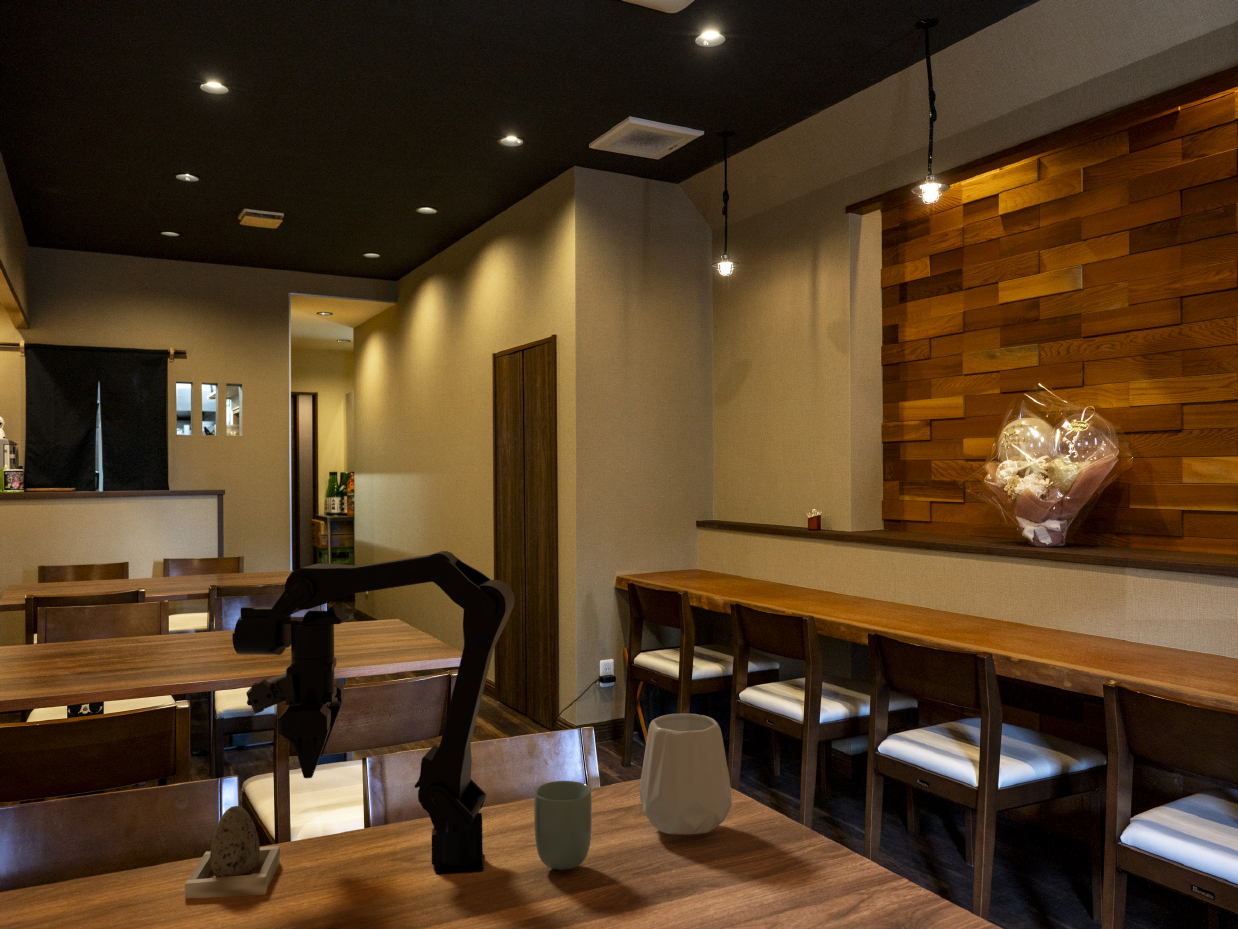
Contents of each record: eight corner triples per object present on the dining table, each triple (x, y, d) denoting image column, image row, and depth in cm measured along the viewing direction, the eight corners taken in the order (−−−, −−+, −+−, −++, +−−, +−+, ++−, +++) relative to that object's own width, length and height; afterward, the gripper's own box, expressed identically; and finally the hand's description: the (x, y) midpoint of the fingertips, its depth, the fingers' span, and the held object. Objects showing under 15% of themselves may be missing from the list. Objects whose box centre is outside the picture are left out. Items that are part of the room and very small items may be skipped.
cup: (584, 879, 118) (583, 803, 118) (527, 874, 120) (527, 799, 120) (597, 853, 126) (597, 782, 126) (544, 849, 127) (543, 778, 127)
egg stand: (279, 864, 123) (279, 845, 123) (265, 896, 114) (265, 877, 114) (206, 870, 121) (206, 851, 121) (185, 903, 112) (185, 883, 112)
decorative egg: (268, 881, 118) (268, 805, 118) (225, 898, 113) (224, 819, 113) (244, 868, 122) (244, 795, 122) (201, 885, 117) (201, 808, 117)
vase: (671, 797, 147) (670, 704, 147) (748, 816, 139) (747, 718, 139) (620, 825, 136) (620, 725, 136) (701, 848, 127) (701, 741, 127)
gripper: (266, 644, 133) (266, 749, 133) (235, 673, 115) (236, 795, 115) (344, 641, 135) (344, 745, 135) (326, 669, 117) (326, 788, 117)
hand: (313, 766), depth 126 cm, fingers open, 9 cm apart
